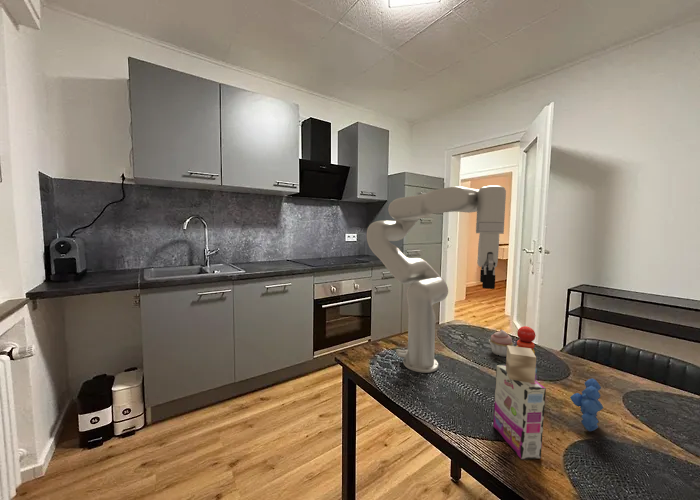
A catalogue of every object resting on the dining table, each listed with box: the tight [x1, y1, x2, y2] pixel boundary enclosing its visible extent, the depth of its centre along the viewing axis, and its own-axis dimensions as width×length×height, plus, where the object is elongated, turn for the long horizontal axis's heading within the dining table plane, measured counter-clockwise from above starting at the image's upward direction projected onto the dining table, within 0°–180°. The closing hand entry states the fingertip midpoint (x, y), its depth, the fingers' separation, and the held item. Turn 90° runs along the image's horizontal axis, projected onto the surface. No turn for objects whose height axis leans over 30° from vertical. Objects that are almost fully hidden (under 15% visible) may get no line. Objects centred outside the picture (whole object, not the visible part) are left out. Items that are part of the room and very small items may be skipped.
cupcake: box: [488, 329, 515, 358], centre depth 117 cm, size 9×9×10 cm
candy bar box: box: [492, 364, 547, 460], centre depth 68 cm, size 11×5×16 cm, turn 5°
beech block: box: [505, 345, 537, 384], centre depth 67 cm, size 5×5×6 cm
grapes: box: [569, 378, 604, 432], centre depth 75 cm, size 12×7×12 cm, turn 139°
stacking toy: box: [515, 325, 538, 382], centre depth 94 cm, size 8×8×19 cm
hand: (486, 285), depth 87 cm, fingers open, 9 cm apart
